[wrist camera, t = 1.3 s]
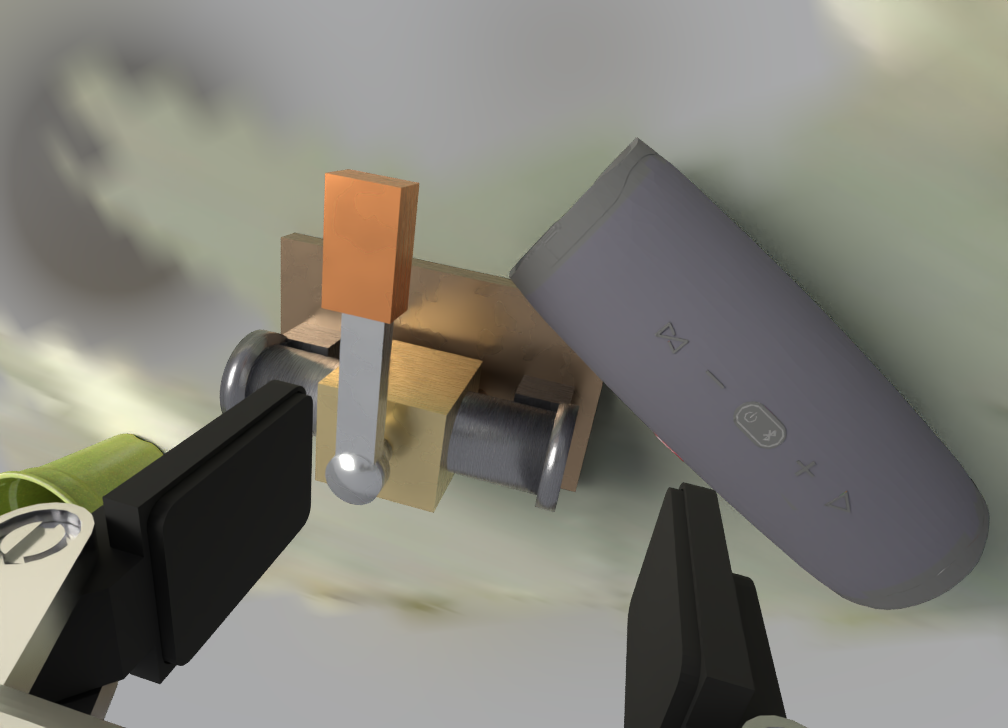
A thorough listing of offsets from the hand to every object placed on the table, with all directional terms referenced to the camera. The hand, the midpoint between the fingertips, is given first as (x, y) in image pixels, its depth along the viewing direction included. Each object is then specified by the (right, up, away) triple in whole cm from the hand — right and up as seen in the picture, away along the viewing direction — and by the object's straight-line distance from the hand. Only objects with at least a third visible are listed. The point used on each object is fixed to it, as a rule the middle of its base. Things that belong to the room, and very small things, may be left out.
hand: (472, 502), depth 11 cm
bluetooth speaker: (+13, +4, +22) cm, 26 cm away
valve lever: (-5, +3, +14) cm, 15 cm away
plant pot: (-28, -5, +35) cm, 45 cm away
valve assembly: (-4, +2, +26) cm, 27 cm away
